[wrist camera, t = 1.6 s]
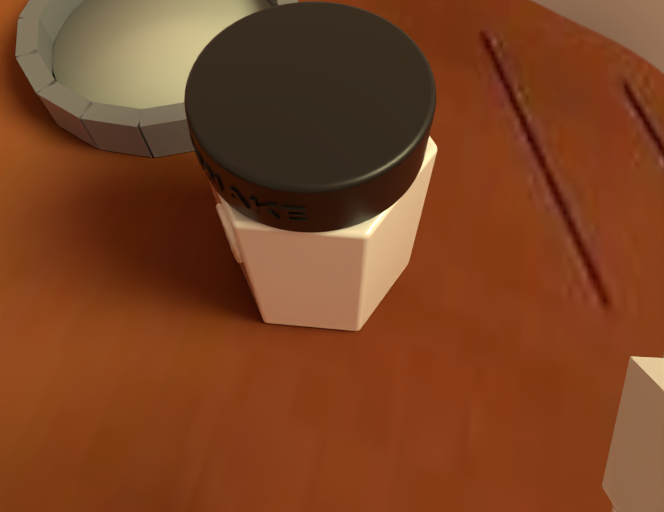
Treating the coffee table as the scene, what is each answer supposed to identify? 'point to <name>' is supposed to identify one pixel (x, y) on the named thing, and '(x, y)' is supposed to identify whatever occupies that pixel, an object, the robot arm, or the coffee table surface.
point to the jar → (315, 155)
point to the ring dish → (121, 65)
